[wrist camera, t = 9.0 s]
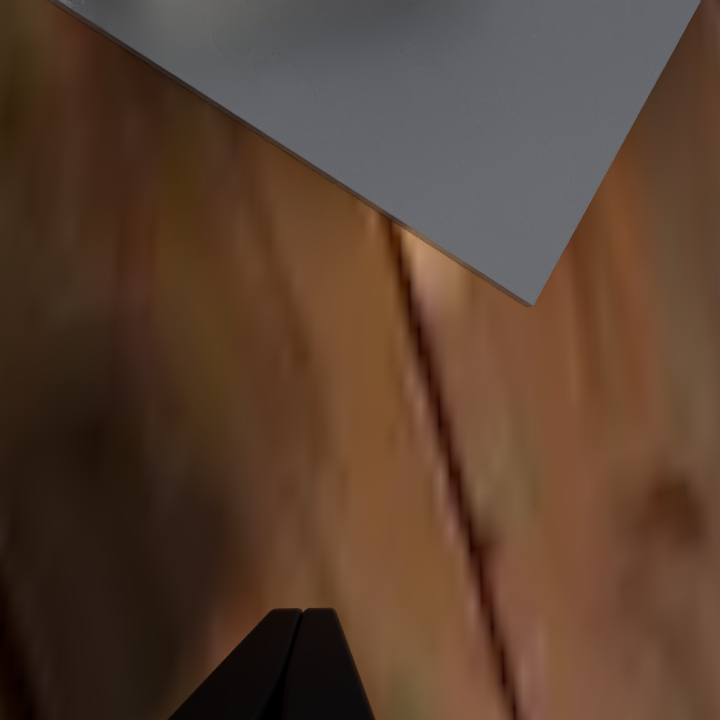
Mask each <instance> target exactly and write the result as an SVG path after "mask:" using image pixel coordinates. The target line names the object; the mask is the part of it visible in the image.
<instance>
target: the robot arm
mask: <svg viewBox="0 0 720 720" xmlns="http://www.w3.org/2000/svg"><path fill="white" fill-rule="evenodd" d="M168 720H375V717H374V714H373V711H372V709H371V706H370V703H369V700H368V698H367V695H366V692H365V689H364V687H363V684H362V681H361V678H360V676H359V673H358V670H357V667H356V665H355V662H354V659H353V656H352V654H351V651H350V648H349V645H348V643H347V640H346V637H345V634H344V632H343V629H342V626H341V623H340V621H339V618H338V615H337V613H336V611H335V610H334V609H333V608H308V609H306V610H305V611H304V612H303V611H302V610H301V609H299V608H277V609H273V610H271V611H270V612H269V613H268V614H267V615H266V616H265V617H264V618H263V619H262V620H261V621H260V622H259V623H258V624H257V626H256V627H255V628H254V629H253V630H252V631H251V632H250V633H249V634H248V635H247V636H246V637H245V638H244V639H243V640H242V641H241V642H240V644H239V645H238V646H237V647H236V648H235V649H234V650H233V651H232V652H231V653H230V654H229V655H228V656H227V657H226V658H225V659H224V660H223V661H222V663H221V664H220V665H219V666H218V667H217V668H216V669H215V670H214V671H213V672H212V673H211V674H210V675H209V676H208V677H207V678H206V679H205V680H204V682H203V683H202V684H201V685H200V686H199V687H198V688H197V689H196V690H195V691H194V692H193V693H192V694H191V695H190V696H189V697H188V698H187V700H186V701H185V702H184V703H183V704H182V705H181V706H180V707H179V708H178V709H177V710H176V711H175V712H174V713H173V714H172V715H171V716H170V717H169V719H168Z"/></svg>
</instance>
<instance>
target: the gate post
mask: <svg viewBox="0 0 720 720" xmlns="http://www.w3.org/2000/svg"><path fill="white" fill-rule="evenodd" d="M49 1H50V2H52V3H53V4H55V5H57V6H58V7H60V8H61V9H63V10H64V11H66V12H67V13H69V14H71V15H72V16H74V17H75V18H77V19H78V20H80V21H82V22H83V23H85V24H86V25H88V26H89V27H91V28H92V29H94V30H96V31H97V32H99V33H100V34H102V35H103V36H105V37H106V38H108V39H110V40H111V41H113V42H114V43H116V44H117V45H119V46H120V47H122V48H124V49H125V50H127V51H128V52H130V53H131V54H133V55H135V56H136V57H138V58H139V59H141V60H142V61H144V62H145V63H147V64H149V65H150V66H152V67H153V68H155V69H156V70H158V71H159V72H161V73H163V74H164V75H166V76H167V77H169V78H170V79H172V80H173V81H175V82H177V83H178V84H180V85H181V86H183V87H184V88H186V89H188V90H189V91H191V92H192V93H194V94H195V95H197V96H198V97H200V98H202V99H203V100H205V101H206V102H208V103H209V104H211V105H212V106H214V107H216V108H217V109H219V110H220V111H222V112H223V113H225V114H226V115H228V116H230V117H231V118H233V119H234V120H236V121H237V122H239V123H241V124H242V125H244V126H245V127H247V128H248V129H250V130H251V131H253V132H255V133H256V134H258V135H259V136H261V137H262V138H264V139H265V140H267V141H269V142H270V143H272V144H273V145H275V146H276V147H278V148H280V149H281V150H283V151H284V152H286V153H287V154H289V155H290V156H292V157H294V158H295V159H297V160H298V161H300V162H301V163H303V164H304V165H306V166H308V167H309V168H311V169H312V170H314V171H315V172H317V173H318V174H320V175H322V176H323V177H325V178H326V179H328V180H329V181H331V182H333V183H334V184H336V185H337V186H339V187H340V188H342V189H343V190H345V191H347V192H348V193H350V194H351V195H353V196H354V197H356V198H357V199H359V200H361V201H362V202H364V203H365V204H367V205H368V206H370V207H371V208H373V209H375V210H376V211H378V212H379V213H381V214H382V215H384V216H386V217H387V218H389V219H390V220H392V221H393V222H395V223H396V224H398V225H400V226H401V227H403V228H404V229H406V230H407V231H409V232H410V233H412V234H414V235H415V236H417V237H418V238H420V239H421V240H423V241H424V242H426V243H428V244H429V245H431V246H432V247H434V248H435V249H437V250H439V251H440V252H442V253H443V254H445V255H446V256H448V257H449V258H451V259H453V260H454V261H456V262H457V263H459V264H460V265H462V266H463V267H465V268H467V269H468V270H470V271H471V272H473V273H474V274H476V275H478V276H479V277H481V278H482V279H484V280H485V281H487V282H488V283H490V284H492V285H493V286H495V287H496V288H498V289H499V290H501V291H502V292H504V293H506V294H507V295H509V296H510V297H512V298H513V299H515V300H516V301H518V302H520V303H521V304H523V305H524V306H526V307H529V306H533V305H534V304H535V302H536V300H537V298H538V296H539V294H540V293H541V291H542V289H543V287H544V285H545V284H546V282H547V280H548V278H549V276H550V274H551V273H552V271H553V269H554V267H555V265H556V264H557V262H558V260H559V258H560V256H561V254H562V253H563V251H564V249H565V247H566V245H567V244H568V242H569V240H570V238H571V236H572V234H573V233H574V231H575V229H576V227H577V225H578V223H579V222H580V220H581V218H582V216H583V214H584V213H585V211H586V209H587V207H588V205H589V203H590V202H591V200H592V198H593V196H594V194H595V193H596V191H597V189H598V187H599V185H600V183H601V182H602V180H603V178H604V176H605V174H606V172H607V171H608V169H609V167H610V165H611V163H612V162H613V160H614V158H615V156H616V154H617V152H618V151H619V149H620V147H621V145H622V143H623V142H624V140H625V138H626V136H627V134H628V132H629V131H630V129H631V127H632V125H633V123H634V122H635V120H636V118H637V116H638V114H639V112H640V111H641V109H642V107H643V105H644V103H645V101H646V100H647V98H648V96H649V94H650V92H651V91H652V89H653V87H654V85H655V83H656V81H657V80H658V78H659V76H660V74H661V72H662V71H663V69H664V67H665V65H666V63H667V61H668V60H669V58H670V56H671V54H672V52H673V50H674V49H675V47H676V45H677V43H678V41H679V40H680V38H681V36H682V34H683V32H684V30H685V29H686V27H687V25H688V23H689V21H690V20H691V18H692V16H693V14H694V12H695V10H696V9H697V7H698V5H699V3H700V1H701V0H49Z"/></svg>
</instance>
